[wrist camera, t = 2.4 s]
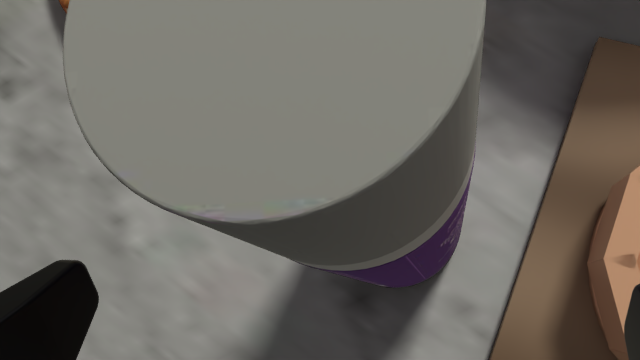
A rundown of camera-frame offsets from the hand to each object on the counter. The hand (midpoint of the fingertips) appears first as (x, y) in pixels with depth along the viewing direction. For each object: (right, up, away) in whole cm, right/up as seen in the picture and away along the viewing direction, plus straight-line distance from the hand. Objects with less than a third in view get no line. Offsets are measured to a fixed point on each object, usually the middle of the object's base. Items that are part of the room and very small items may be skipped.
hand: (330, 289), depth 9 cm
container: (+3, 0, +11) cm, 11 cm away
